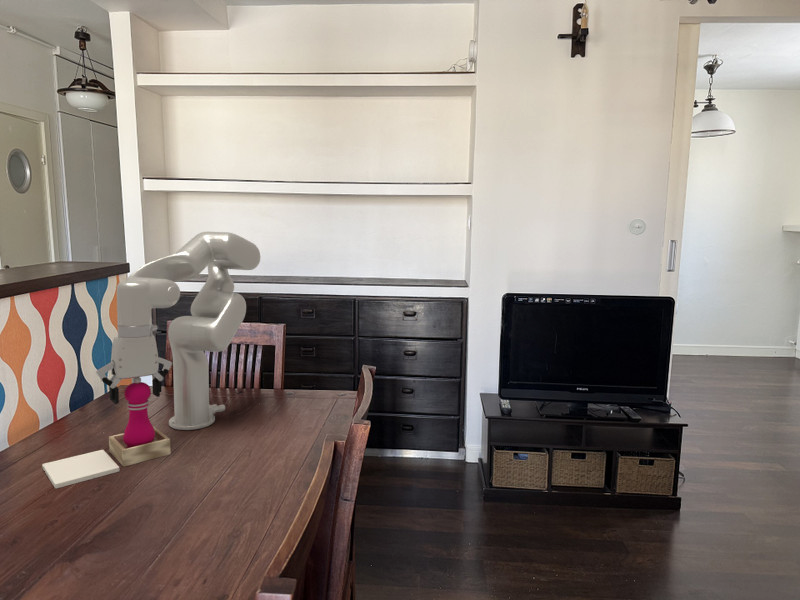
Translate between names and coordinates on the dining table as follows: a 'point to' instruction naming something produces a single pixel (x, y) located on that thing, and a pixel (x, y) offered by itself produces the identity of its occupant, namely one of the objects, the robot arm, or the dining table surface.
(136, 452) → the holder
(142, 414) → the pepper mill
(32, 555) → the dining table surface
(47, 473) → the tile
